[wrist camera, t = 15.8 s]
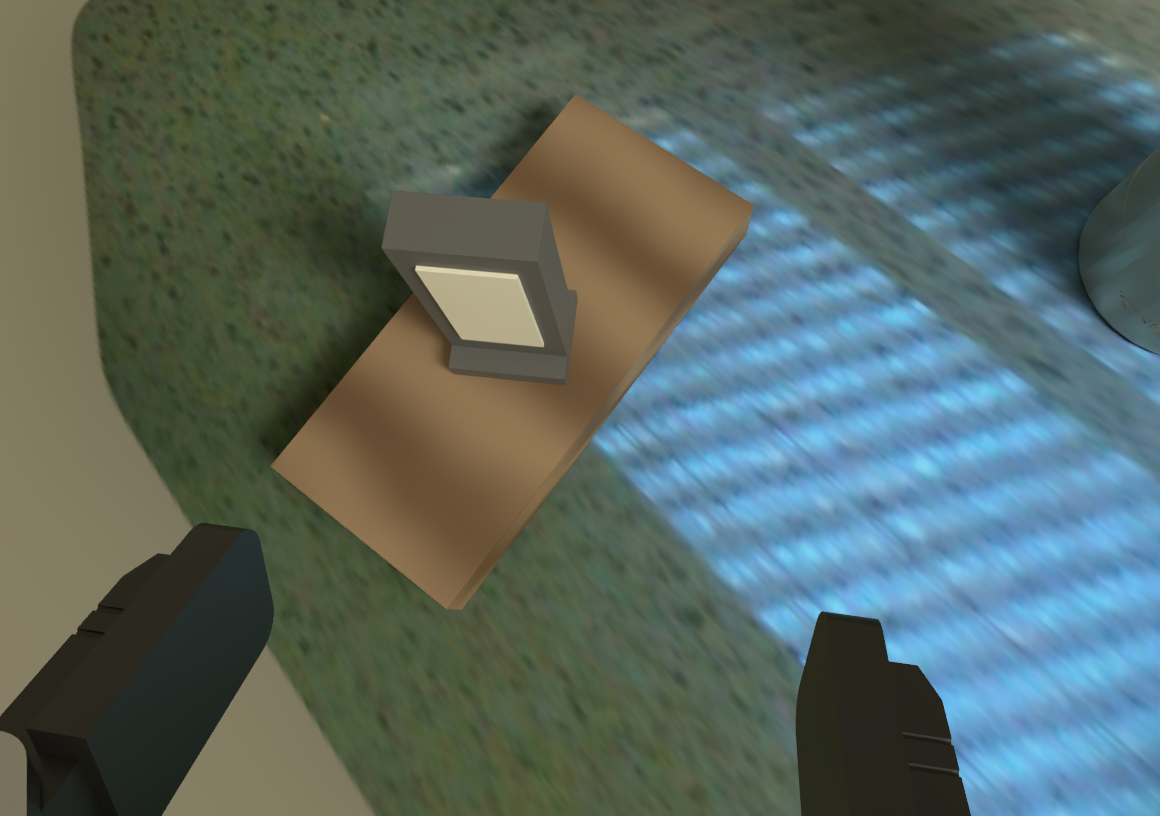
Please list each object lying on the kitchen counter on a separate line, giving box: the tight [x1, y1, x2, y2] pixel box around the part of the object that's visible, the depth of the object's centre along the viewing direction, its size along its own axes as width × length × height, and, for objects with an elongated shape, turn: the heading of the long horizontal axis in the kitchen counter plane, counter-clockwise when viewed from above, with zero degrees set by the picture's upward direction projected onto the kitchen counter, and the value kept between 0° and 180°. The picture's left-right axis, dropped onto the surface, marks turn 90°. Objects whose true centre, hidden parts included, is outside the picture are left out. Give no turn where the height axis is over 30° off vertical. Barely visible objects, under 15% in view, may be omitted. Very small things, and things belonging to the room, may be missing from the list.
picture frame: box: [382, 191, 578, 386], centre depth 32 cm, size 4×5×11 cm
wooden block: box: [271, 94, 754, 610], centre depth 39 cm, size 22×10×3 cm, turn 143°
